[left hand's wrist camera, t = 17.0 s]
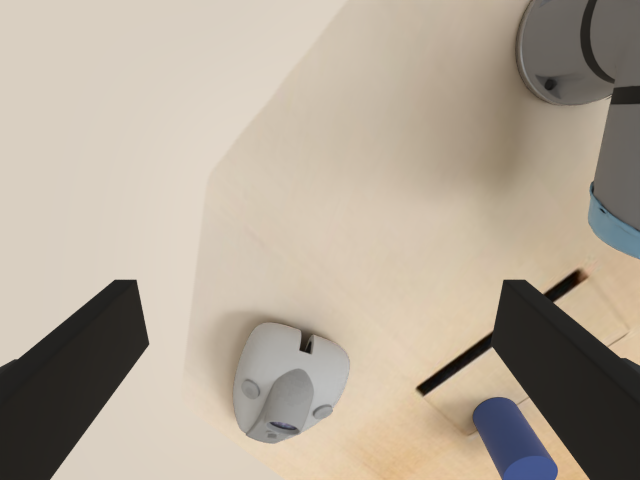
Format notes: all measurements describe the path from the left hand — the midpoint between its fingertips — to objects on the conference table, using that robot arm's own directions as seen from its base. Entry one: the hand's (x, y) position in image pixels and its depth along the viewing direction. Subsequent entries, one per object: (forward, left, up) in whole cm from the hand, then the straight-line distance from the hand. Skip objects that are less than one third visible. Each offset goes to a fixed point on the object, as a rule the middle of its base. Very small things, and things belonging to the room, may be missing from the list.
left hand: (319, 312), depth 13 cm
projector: (+34, -11, -37) cm, 51 cm away
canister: (+48, +24, -37) cm, 65 cm away
